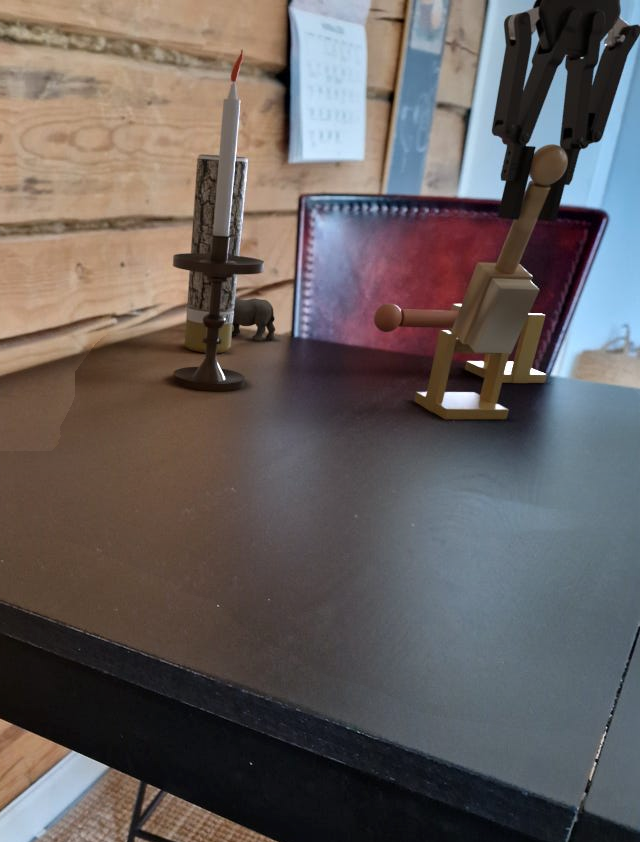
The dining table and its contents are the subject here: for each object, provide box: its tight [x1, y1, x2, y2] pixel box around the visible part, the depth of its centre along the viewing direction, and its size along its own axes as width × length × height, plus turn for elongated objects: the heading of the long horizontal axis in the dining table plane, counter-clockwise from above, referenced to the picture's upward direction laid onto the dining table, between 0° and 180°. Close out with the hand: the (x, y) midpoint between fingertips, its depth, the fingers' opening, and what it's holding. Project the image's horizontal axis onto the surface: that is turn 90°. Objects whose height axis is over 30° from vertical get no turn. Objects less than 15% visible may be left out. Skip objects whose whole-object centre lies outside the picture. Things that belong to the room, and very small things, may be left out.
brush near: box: [452, 144, 568, 354], centre depth 92 cm, size 22×5×6 cm
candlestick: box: [172, 49, 265, 392], centre depth 100 cm, size 11×11×35 cm
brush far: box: [373, 302, 512, 355], centre depth 117 cm, size 22×5×6 cm, turn 102°
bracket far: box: [464, 312, 548, 384], centre depth 120 cm, size 8×8×9 cm
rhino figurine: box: [231, 296, 276, 342], centre depth 136 cm, size 4×14×6 cm, turn 68°
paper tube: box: [184, 153, 249, 354], centre depth 120 cm, size 7×7×25 cm
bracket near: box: [413, 329, 510, 420], centre depth 101 cm, size 8×8×9 cm
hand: (526, 218), depth 89 cm, fingers closed on brush near, 4 cm apart
